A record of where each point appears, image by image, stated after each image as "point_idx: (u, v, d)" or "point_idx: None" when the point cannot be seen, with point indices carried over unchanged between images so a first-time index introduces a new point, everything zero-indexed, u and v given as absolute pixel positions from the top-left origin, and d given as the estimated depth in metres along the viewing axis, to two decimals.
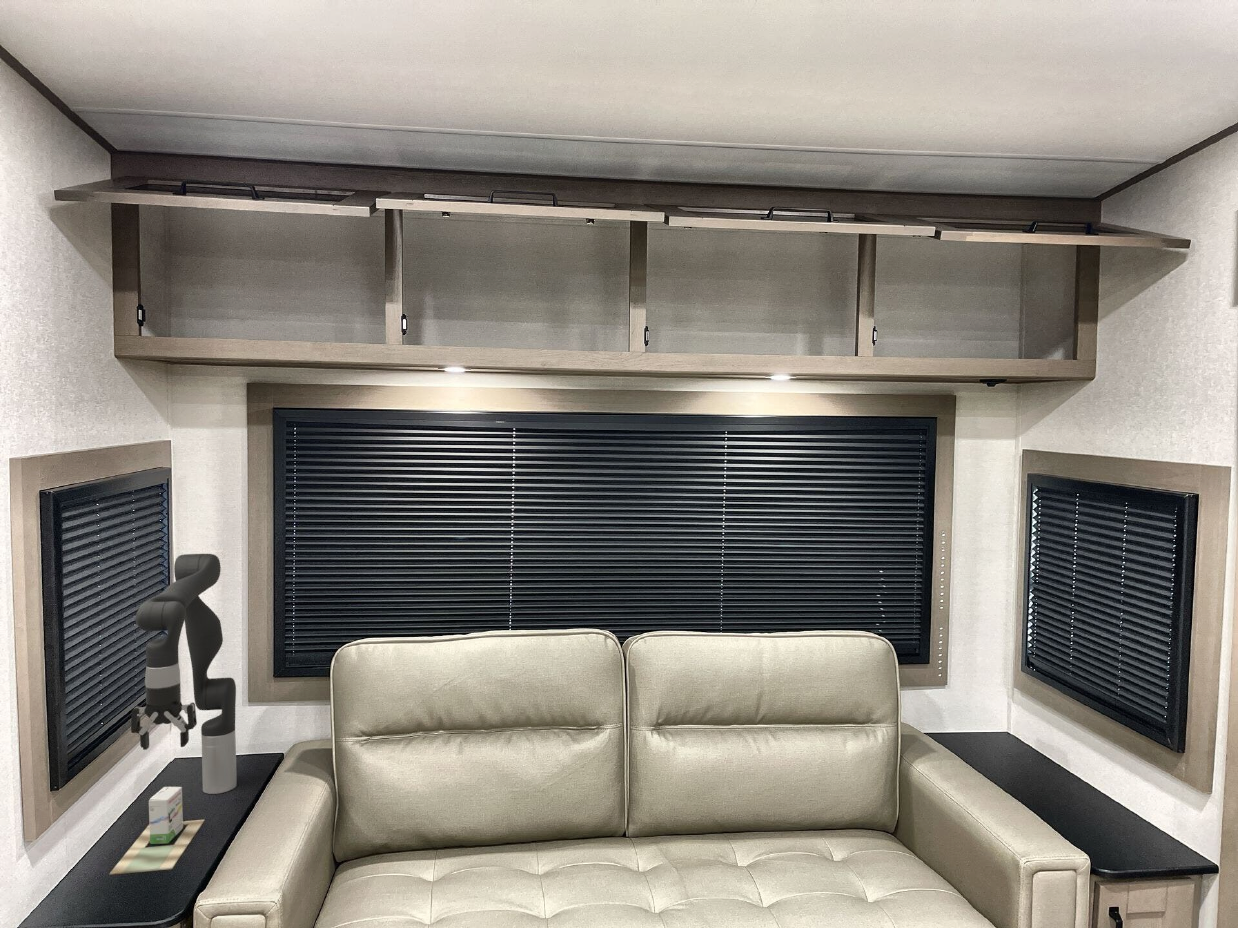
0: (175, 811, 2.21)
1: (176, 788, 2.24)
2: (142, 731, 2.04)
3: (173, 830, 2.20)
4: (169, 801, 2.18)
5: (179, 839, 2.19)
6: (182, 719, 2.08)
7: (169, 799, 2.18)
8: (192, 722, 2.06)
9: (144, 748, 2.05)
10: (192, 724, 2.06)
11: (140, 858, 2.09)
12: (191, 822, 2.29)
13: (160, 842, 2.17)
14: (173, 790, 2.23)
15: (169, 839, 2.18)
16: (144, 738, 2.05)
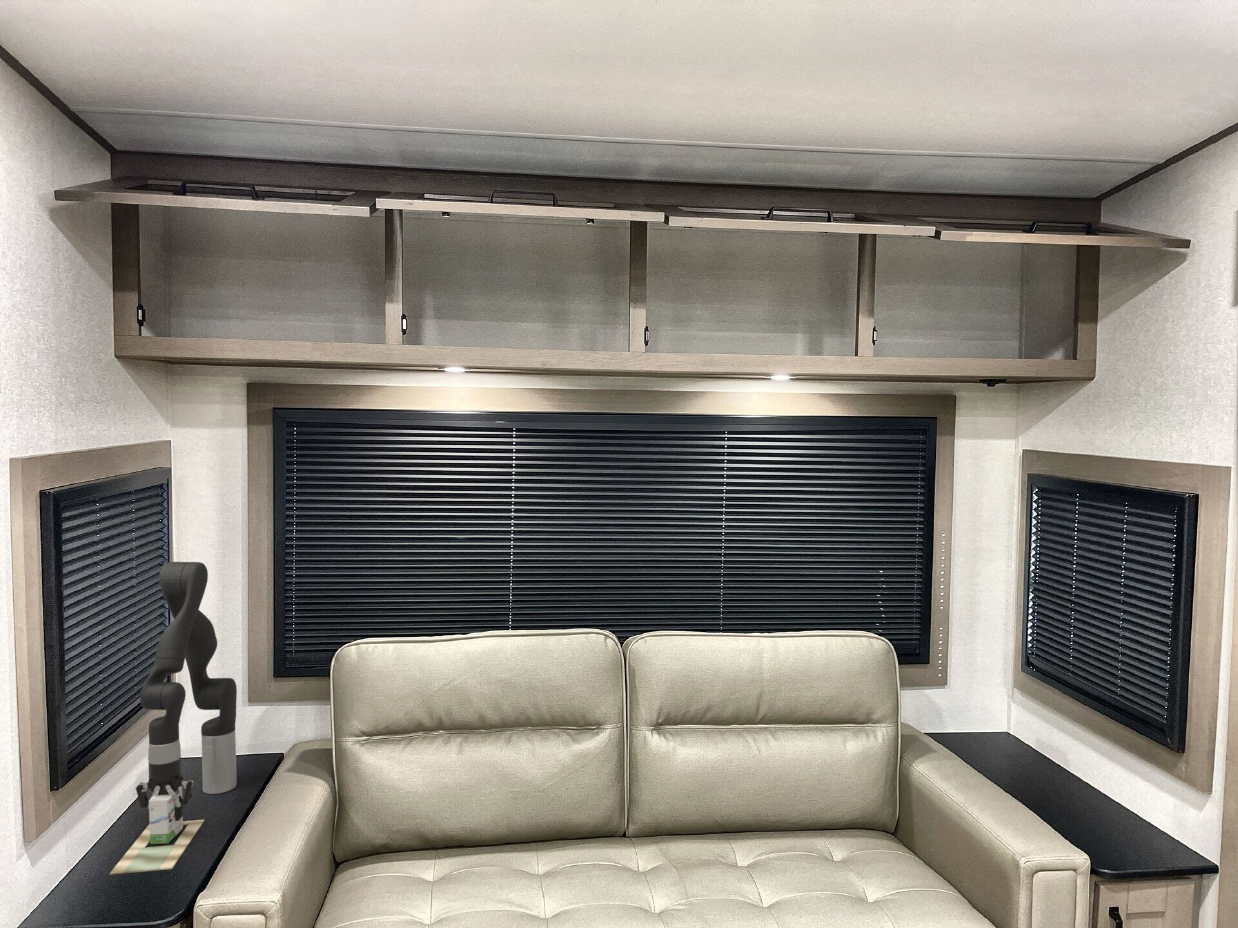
0: None
1: None
2: None
3: (173, 830, 2.20)
4: (169, 801, 2.18)
5: (179, 839, 2.19)
6: (179, 793, 2.22)
7: (169, 799, 2.18)
8: (187, 798, 2.21)
9: None
10: (187, 800, 2.21)
11: (140, 858, 2.09)
12: (191, 822, 2.29)
13: (160, 842, 2.17)
14: None
15: (169, 839, 2.18)
16: None
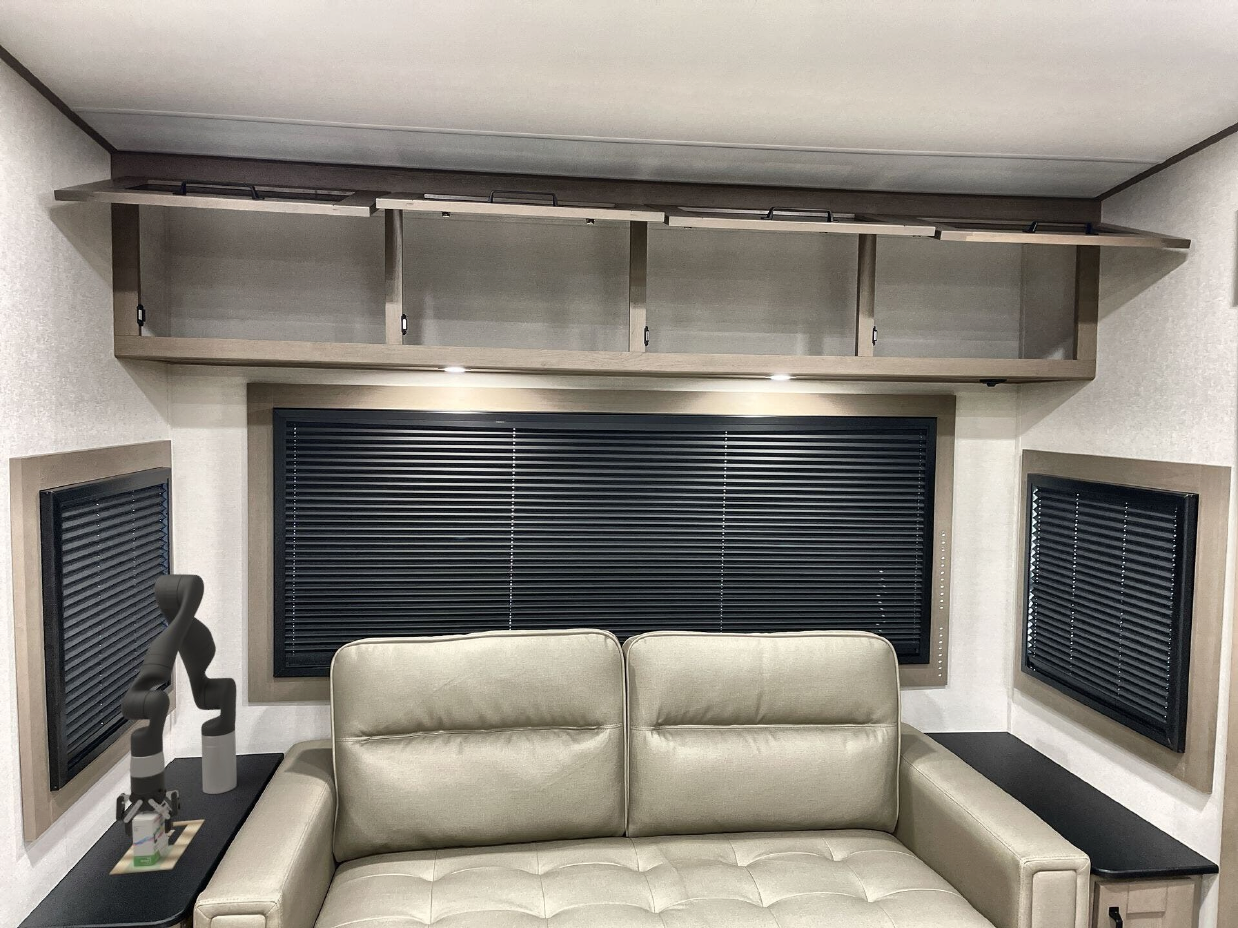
0: (160, 830, 2.09)
1: None
2: (127, 818, 2.07)
3: (158, 851, 2.09)
4: (154, 821, 2.06)
5: (179, 839, 2.19)
6: (166, 805, 2.11)
7: (154, 818, 2.07)
8: (176, 809, 2.09)
9: (129, 835, 2.08)
10: (176, 811, 2.09)
11: None
12: (191, 822, 2.29)
13: (145, 864, 2.06)
14: None
15: (154, 861, 2.06)
16: (129, 825, 2.07)
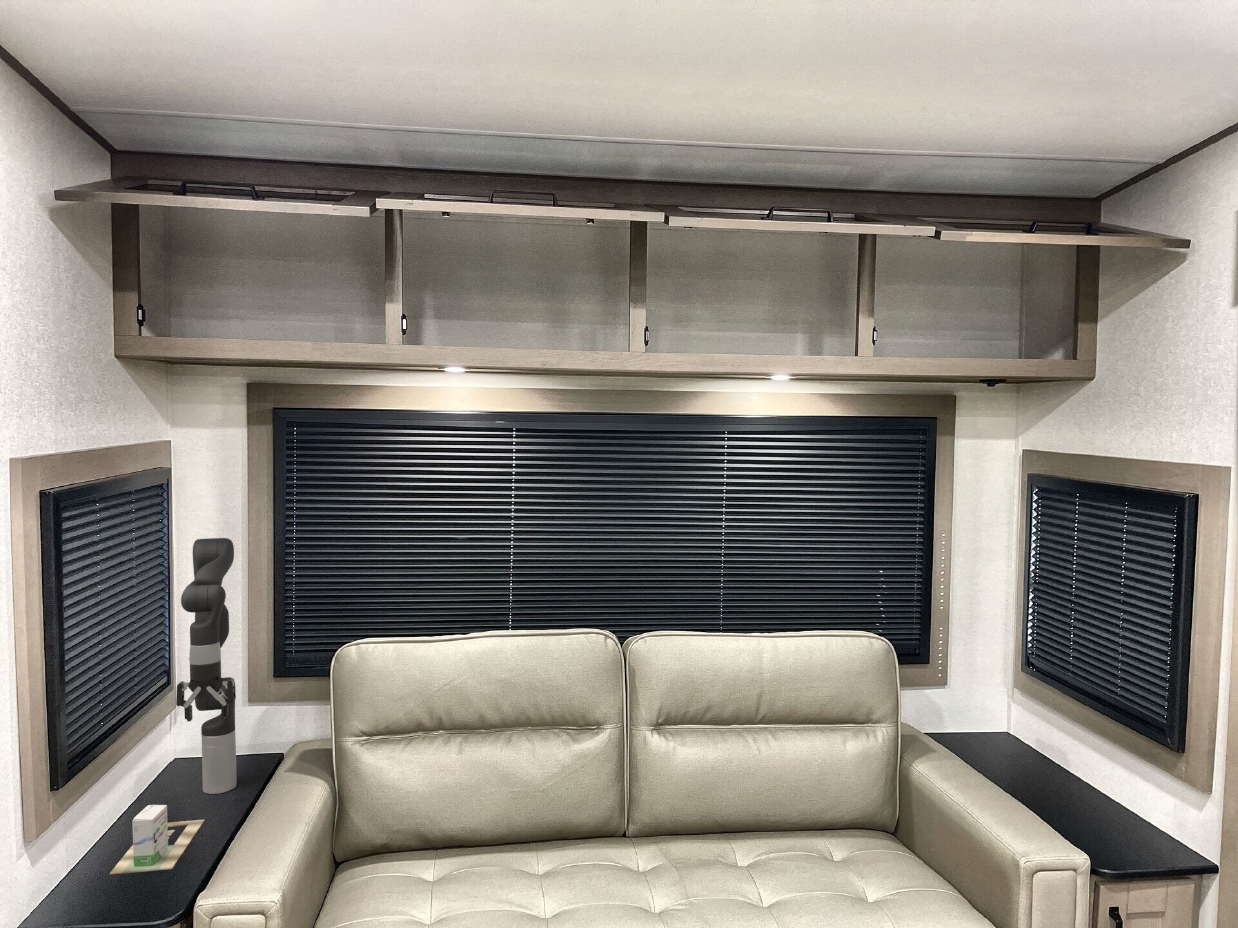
0: (160, 830, 2.09)
1: (161, 806, 2.12)
2: (186, 704, 2.22)
3: (158, 851, 2.09)
4: (154, 821, 2.06)
5: (179, 839, 2.19)
6: (222, 694, 2.25)
7: (154, 818, 2.07)
8: (232, 696, 2.24)
9: (188, 720, 2.22)
10: (232, 698, 2.24)
11: None
12: (191, 822, 2.29)
13: (145, 864, 2.06)
14: (158, 809, 2.11)
15: (154, 861, 2.06)
16: (188, 711, 2.22)
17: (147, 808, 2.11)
